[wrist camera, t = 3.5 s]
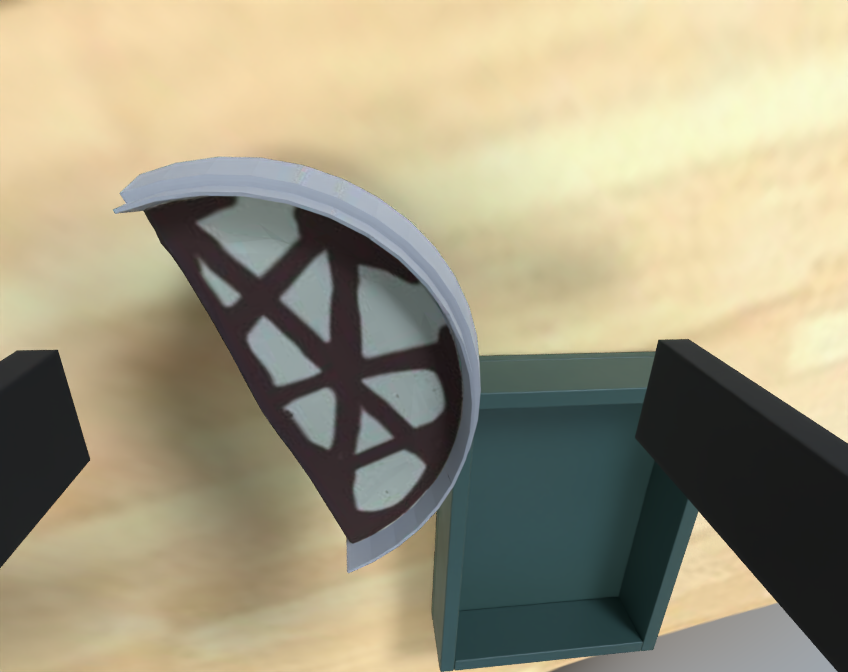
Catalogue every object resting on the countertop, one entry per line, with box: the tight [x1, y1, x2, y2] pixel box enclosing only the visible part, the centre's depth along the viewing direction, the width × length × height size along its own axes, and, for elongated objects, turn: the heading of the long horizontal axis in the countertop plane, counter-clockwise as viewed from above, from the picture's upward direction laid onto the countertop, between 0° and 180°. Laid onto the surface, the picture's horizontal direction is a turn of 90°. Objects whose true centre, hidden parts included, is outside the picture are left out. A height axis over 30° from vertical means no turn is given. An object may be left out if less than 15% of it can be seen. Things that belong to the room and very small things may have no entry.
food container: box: [113, 157, 481, 573], centre depth 16 cm, size 12×6×10 cm, turn 21°
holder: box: [432, 352, 698, 672], centre depth 26 cm, size 13×18×4 cm
